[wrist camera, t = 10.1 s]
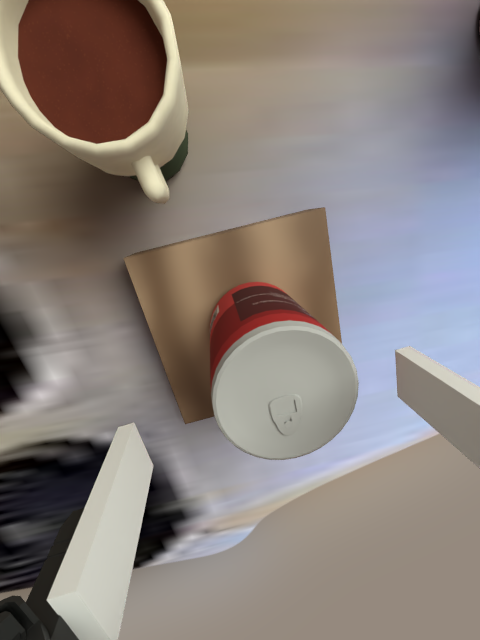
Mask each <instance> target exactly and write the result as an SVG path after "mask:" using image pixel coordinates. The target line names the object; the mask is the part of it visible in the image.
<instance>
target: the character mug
mask: <svg viewBox="0 0 480 640" xmlns="http://www.w3.org/2000/svg"><path fill="white" fill-rule="evenodd" d="M0 89H1V91H2V92H3V94H4V95H5V96H6V98H7V99H8V101H9V102H10V104H11V105H12V107H13V108H14V109H15V110H16V111H17V112H18V113H19V114H20V115H21V116H22V117H23V118H24V119H25V120H26V121H27V122H28V124H29V125H30V126H31V127H32V128H34V129H35V130H37V131H39V132H40V133H42V134H43V135H45V136H46V137H48V138H49V139H51V140H52V141H54V142H55V143H57V144H58V145H60V146H61V147H63V148H64V149H66V150H67V151H69V152H70V153H72V154H73V155H74V156H76V157H77V158H79V159H81V160H83V161H85V162H87V163H89V164H91V165H93V166H95V167H97V168H99V169H101V170H103V171H104V172H106V173H109V174H114V175H119V176H130V177H131V178H133V179H136V180H139V182H140V185H141V187H142V189H143V191H144V193H145V194H146V195H147V196H148V197H149V198H150V199H151V200H152V201H154V202H156V203H163V204H165V203H166V202H167V201H168V200H169V189H168V186H167V184H166V182H165V181H166V180H168V179H169V178H170V177H171V176H173V175H174V174H175V173H177V172H178V171H179V170H180V168H181V166H182V164H183V162H184V160H185V158H186V156H187V154H188V133H187V130H186V125H187V118H188V112H189V110H188V104H187V98H186V92H185V86H184V80H183V74H182V68H181V62H180V57H179V52H178V47H177V42H176V37H175V32H174V27H173V22H172V18H171V14H170V12H169V10H168V9H167V7H166V5H165V3H164V1H163V0H0Z"/></svg>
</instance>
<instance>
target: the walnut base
mask: <svg viewBox="0 0 480 640" xmlns="http://www.w3.org/2000/svg"><path fill="white" fill-rule="evenodd" d="M124 261H125V264H126V266H127V269H128V272H129V275H130V277H131V280H132V283H133V285H134V288H135V291H136V293H137V296H138V299H139V301H140V304H141V307H142V309H143V312H144V315H145V318H146V320H147V323H148V326H149V328H150V331H151V334H152V336H153V339H154V342H155V344H156V347H157V350H158V353H159V355H160V358H161V361H162V363H163V366H164V369H165V371H166V374H167V377H168V379H169V382H170V385H171V387H172V390H173V393H174V396H175V398H176V401H177V404H178V406H179V409H180V412H181V414H182V417H183V420H184V422H185V424H188V423H191V422H195V421H199V420H203V419H206V418H210V417H214V410H213V406H212V399H211V385H210V320H211V316H212V313H213V310H214V308H215V307H216V305H217V303H218V302H219V300H220V299H221V298H222V297H223V296H224V295H225V294H226V293H227V292H228V291H230V290H231V289H233V288H235V287H237V286H238V285H242V284H245V283H249V282H264V283H269V284H272V285H275V286H276V287H278V288H280V289H282V290H283V291H284V292H285V293H287V294H288V295H289V296H290V297H291V298H292V299H293V300H294V301H296V302H297V303H298V304H299V305H300V306H301V307H302V308H304V309H305V310H306V311H307V312H308V313H309V314H310V315H311V316H313V317H314V318H315V319H316V320H317V321H318V322H319V323H321V324H322V325H323V326H324V327H325V328H326V329H327V330H328V331H329V332H330V333H332V335H333V336H334V337H335V338H337V339H338V340H339V341H340V342H341V344H342V341H341V333H340V325H339V317H338V309H337V300H336V292H335V284H334V276H333V268H332V260H331V252H330V244H329V236H328V228H327V219H326V211H325V207H324V208H316V209H308V210H304V211H300V212H296V213H292V214H288V215H284V216H280V217H276V218H272V219H268V220H264V221H260V222H256V223H253V224H249V225H245V226H241V227H237V228H233V229H229V230H225V231H221V232H217V233H213V234H209V235H205V236H201V237H197V238H193V239H189V240H185V241H181V242H177V243H173V244H169V245H165V246H161V247H157V248H153V249H149V250H145V251H142V252H138V253H134V254H132V255H130V256H127V257H125V258H124Z"/></svg>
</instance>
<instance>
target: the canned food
mask: <svg viewBox="0 0 480 640" xmlns="http://www.w3.org/2000/svg"><path fill="white" fill-rule="evenodd" d="M210 385H211V399H212V406H213V410H214V416H215V418H216V421H217V424H218V426H219V428H220V429H221V431H222V432H223V434H224V435H225V437H226V438H227V439H228V440H229V441H230V442H231V443H232V444H233V445H234V446H236V447H237V448H239V449H240V450H242V451H244V452H245V453H248V454H250V455H253V456H255V457H259V458H264V459H269V460H285V459H292V458H297V457H300V456H303V455H306V454H309V453H311V452H313V451H315V450H317V449H319V448H321V447H322V446H324V445H325V444H327V443H328V442H329V441H331V440H332V439H333V438H334V437H335V436H336V435H337V434H338V433H339V432H340V431H341V430H342V428H343V427H344V426H345V424H346V423H347V422H348V420H349V418H350V416H351V414H352V412H353V410H354V407H355V404H356V400H357V396H358V377H357V370H356V368H355V365H354V363H353V360H352V358H351V356H350V355H349V353H348V352H347V351H346V349H345V348H344V347H343V345H342V344H341V342H340V341H339V340H338V339H337V338H335V337H334V336H333V335H332V333H330V332H329V331H328V330H327V329H326V328H325V327H324V326H323V325H322V324H321V323H319V322H318V321H317V320H316V319H315V318H314V317H313V316H311V315H310V314H309V313H308V312H307V311H306V310H305V309H304V308H302V307H301V306H300V305H299V304H298V303H297V302H296V301H294V300H293V299H292V298H291V297H290V296H289V295H288V294H287V293H285V292H284V291H283V290H282V289H280V288H278V287H276V286H275V285H272V284H269V283H264V282H249V283H245V284H242V285H238V286H237V287H235V288H233V289H231V290H230V291H228V292H227V293H226V294H225V295H224V296H223V297H222V298H221V299H220V300H219V302H218V303H217V305H216V307H215V308H214V310H213V313H212V316H211V320H210Z"/></svg>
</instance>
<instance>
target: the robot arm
mask: <svg viewBox="0 0 480 640" xmlns="http://www.w3.org/2000/svg"><path fill="white" fill-rule="evenodd" d="M395 357H396V375H397V393H398V397H399V398H400V399H401V400H402V401H404V402H405V403H406V404H407V405H408V406H409V407H410V408H411V409H413V410H414V411H415V412H416V413H417V414H418V415H419V416H421V417H422V418H423V419H424V420H425V421H426V422H427V423H428V424H430V425H431V426H432V427H433V428H434V429H435V430H436V431H438V432H439V433H440V434H441V435H442V436H443V437H444V438H446V439H447V440H448V441H449V442H450V443H451V444H452V445H453V446H455V447H456V448H457V449H458V450H459V451H460V452H461V453H463V454H464V455H465V456H466V457H467V458H468V459H469V460H470V461H472V462H473V463H474V464H475V465H476V466H477V467H478V468H480V387H478V386H477V385H475V384H473V383H472V382H470V381H468V380H466V379H465V378H463V377H461V376H460V375H458V374H456V373H454V372H453V371H451V370H449V369H448V368H446V367H444V366H443V365H441V364H439V363H437V362H436V361H434V360H432V359H431V358H429V357H427V356H426V355H424V354H422V353H420V352H419V351H417V350H415V349H414V348H412V347H410V346H409V347H405V348H401V349H398V350H395ZM152 470H153V464H152V461H151V459H150V457H149V455H148V452H147V450H146V448H145V446H144V443H143V441H142V439H141V437H140V434H139V432H138V430H137V428H136V425H135V423H131V424H127V425H124V426H120V427H118V429H117V431H116V434H115V436H114V439H113V441H112V443H111V446H110V448H109V451H108V453H107V456H106V458H105V460H104V463H103V465H102V468H101V470H100V472H99V475H98V477H97V480H96V482H95V484H94V487H93V489H92V492H91V494H90V496H89V499H88V501H87V504H86V506H85V508H84V509H80V510H77V511H73V512H72V514H71V515H70V516H69V517H68V519H67V520H66V521H65V523H64V524H63V525H62V526H61V528H60V530H59V533H58V535H57V537H56V539H55V541H54V546H52V548H51V550H50V552H49V554H48V556H47V560H45V563H44V565H43V567H42V569H41V571H40V573H39V575H38V578H37V580H36V582H35V584H34V586H33V588H32V591H31V593H30V595H29V597H28V599H27V601H26V603H25V601H24V600H23V599H22V598H21V597H20V596H11V597H8V598H6V599H3V600H2V601H0V640H118V637H119V632H120V628H121V622H122V618H123V613H124V608H125V603H126V598H127V593H128V588H129V583H130V578H131V573H132V569H133V564H134V559H135V554H136V549H137V544H138V539H139V534H140V529H141V524H142V519H143V515H144V510H145V505H146V500H147V495H148V490H149V485H150V480H151V475H152Z"/></svg>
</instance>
